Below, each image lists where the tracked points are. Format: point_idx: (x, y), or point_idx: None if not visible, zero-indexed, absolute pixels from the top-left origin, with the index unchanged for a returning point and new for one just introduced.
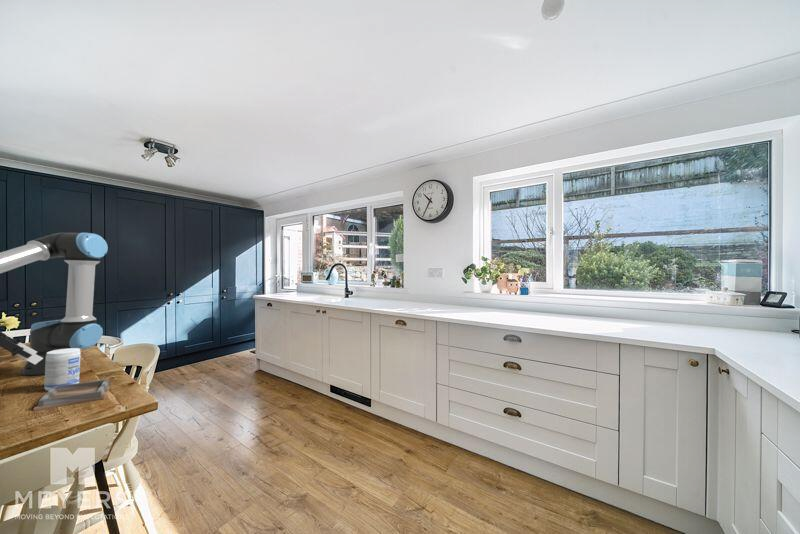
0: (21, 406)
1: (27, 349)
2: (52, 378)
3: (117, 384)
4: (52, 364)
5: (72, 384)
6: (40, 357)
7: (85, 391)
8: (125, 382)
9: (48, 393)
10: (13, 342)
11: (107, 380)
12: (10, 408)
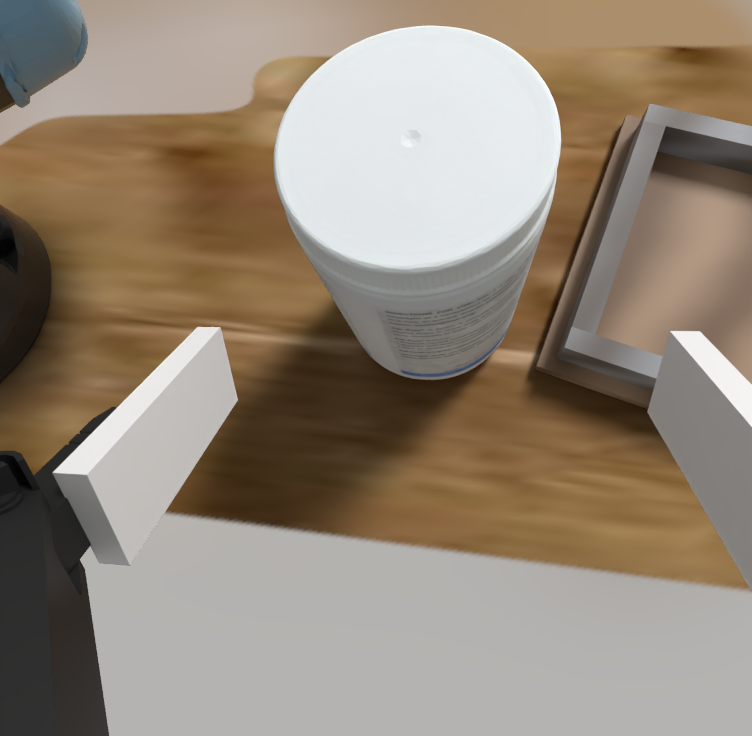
0: (699, 518)
1: (184, 403)
2: (497, 330)
3: (641, 102)
4: (506, 288)
5: (610, 263)
6: (714, 352)
7: (713, 236)
8: (632, 68)
9: None
10: (59, 561)
11: (683, 113)
12: (693, 565)
